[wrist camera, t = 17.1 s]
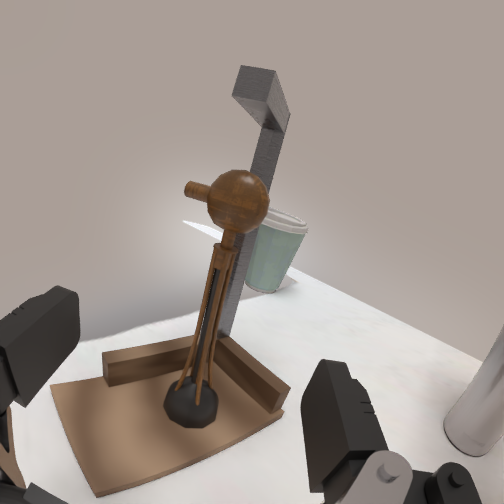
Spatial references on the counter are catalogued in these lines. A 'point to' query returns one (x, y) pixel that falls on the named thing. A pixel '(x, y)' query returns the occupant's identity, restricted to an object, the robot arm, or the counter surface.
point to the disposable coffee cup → (274, 250)
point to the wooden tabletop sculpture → (215, 289)
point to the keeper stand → (180, 361)
